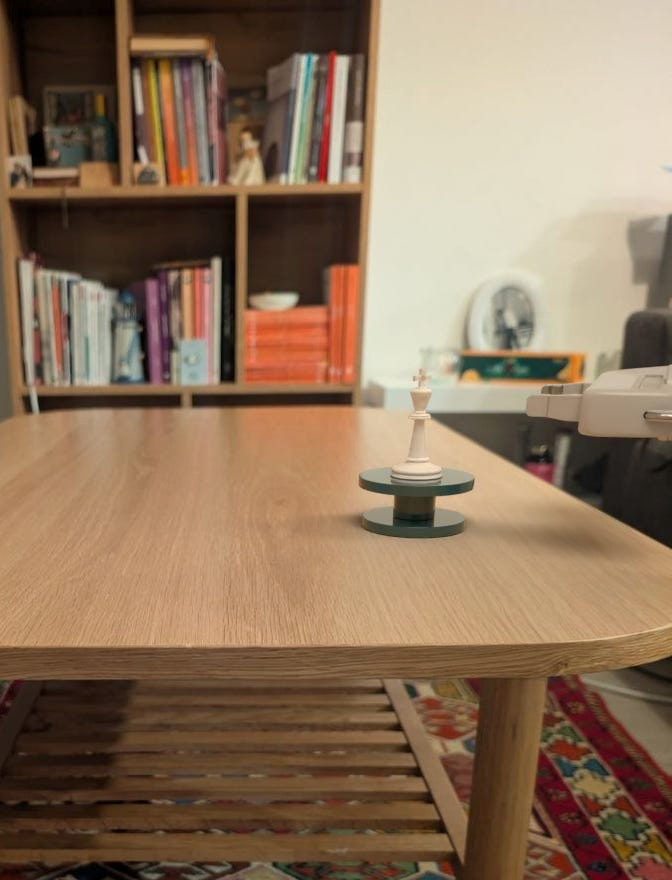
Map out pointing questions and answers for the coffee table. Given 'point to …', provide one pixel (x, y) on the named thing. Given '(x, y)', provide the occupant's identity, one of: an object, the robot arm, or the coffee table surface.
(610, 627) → the coffee table surface
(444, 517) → the stand
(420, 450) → the chess piece
